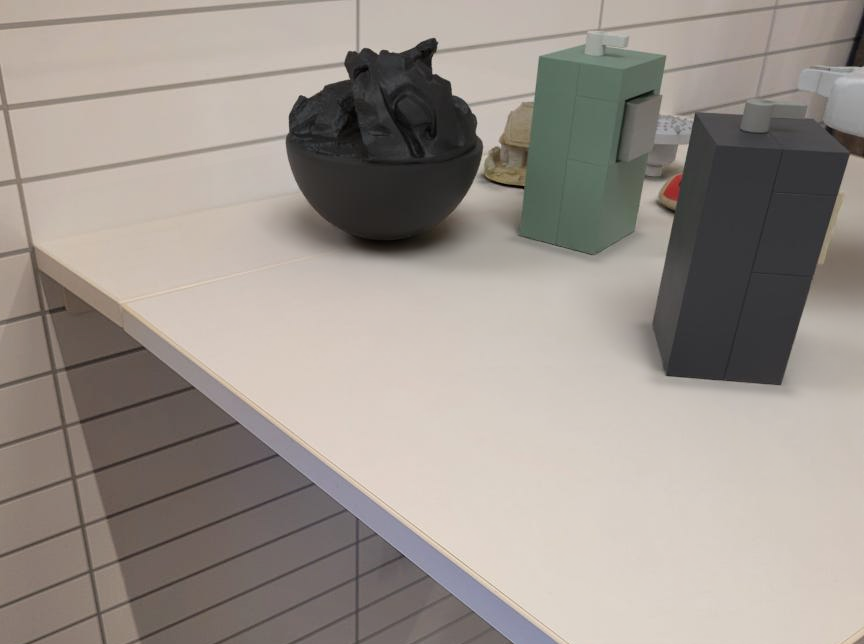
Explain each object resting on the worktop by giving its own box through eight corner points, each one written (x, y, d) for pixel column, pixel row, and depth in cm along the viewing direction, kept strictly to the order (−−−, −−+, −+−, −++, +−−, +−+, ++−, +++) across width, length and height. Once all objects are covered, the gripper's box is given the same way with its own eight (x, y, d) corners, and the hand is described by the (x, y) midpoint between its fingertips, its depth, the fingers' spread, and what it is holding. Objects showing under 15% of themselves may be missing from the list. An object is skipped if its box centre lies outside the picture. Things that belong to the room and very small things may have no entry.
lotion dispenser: (755, 331, 83) (821, 91, 72) (781, 385, 75) (859, 122, 63) (651, 324, 84) (700, 84, 72) (666, 375, 75) (723, 114, 64)
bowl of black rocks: (328, 281, 90) (328, 69, 79) (263, 216, 105) (255, 31, 94) (510, 255, 97) (531, 58, 86) (424, 198, 112) (433, 24, 101)
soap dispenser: (634, 230, 104) (670, 33, 93) (594, 255, 97) (627, 45, 86) (562, 213, 109) (588, 22, 97) (518, 235, 102) (541, 33, 91)
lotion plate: (803, 237, 76) (823, 169, 73) (823, 264, 71) (844, 193, 68) (786, 236, 76) (804, 168, 73) (804, 263, 71) (824, 191, 68)
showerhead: (645, 127, 114) (614, 107, 122) (634, 187, 118) (605, 164, 126) (717, 126, 115) (682, 107, 123) (704, 185, 119) (671, 163, 127)
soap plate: (652, 150, 97) (662, 94, 94) (627, 162, 93) (637, 104, 90) (640, 147, 98) (649, 92, 95) (614, 159, 94) (624, 102, 91)
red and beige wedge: (680, 194, 116) (686, 165, 114) (746, 217, 109) (754, 186, 107) (642, 203, 112) (648, 173, 110) (709, 227, 106) (716, 196, 104)
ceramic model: (596, 173, 122) (609, 92, 117) (593, 199, 113) (606, 112, 108) (489, 163, 125) (496, 83, 119) (477, 188, 116) (484, 102, 110)
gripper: (1011, 46, 82) (846, 26, 88) (968, 77, 68) (776, 51, 74) (982, 122, 85) (826, 97, 92) (936, 166, 71) (756, 133, 78)
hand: (803, 77), depth 83 cm, fingers closed
